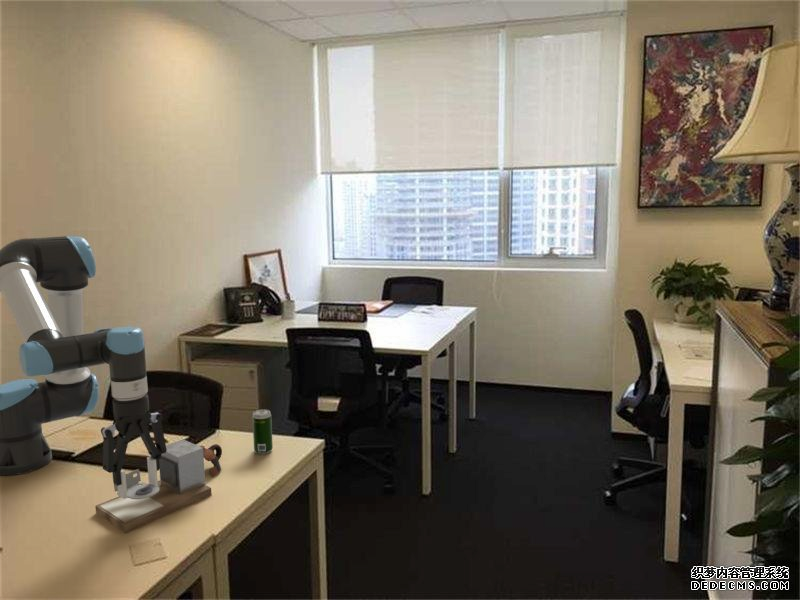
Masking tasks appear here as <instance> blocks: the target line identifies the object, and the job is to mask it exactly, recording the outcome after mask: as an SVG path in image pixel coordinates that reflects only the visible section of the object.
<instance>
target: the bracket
mask: <svg viewBox="0 0 800 600" xmlns="http://www.w3.org/2000/svg"><path fill="white" fill-rule="evenodd" d="M140 473H141V472H140V469H139V468H138V469H134V470H132V471H129V472H126V473H125V476H126V487H127V497H128V498H131V499H144V498H148V497H151V496H153V495H155V494H157V493H158V492H159V487H157V486H154V485H151V484H149V483H147V482H144V481H143V482H141V481H142V480H141V474H140ZM136 474H137V475H136ZM134 475H135V476H134ZM113 488H114V492H117V495H118V487H117V485H115V484H114V483H113Z"/></svg>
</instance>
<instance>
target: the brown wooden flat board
mask: <svg viewBox="0 0 800 600" xmlns="http://www.w3.org/2000/svg"><path fill="white" fill-rule="evenodd" d="M157 487H159V492H158V493H157V494H155V495H153V496H151V497H148V498H144V499H131V498H128V497H127V498H126V499H123V498H122V497H120V496H117V497H115V498H111V499H108V500H106V501H105V502H101V503H99V504H96V505H95V514H96V515H98V516H99V517H101V518H102V519H103V520H105V521H107V522H108V523H110V525H113V526H114V527H116V528H117V529H118V530H120V531H122V532H123V533H125V534H127V533H130V532H132V531H135V530H136V529H139V528H141V527H143V526H145V525H148V524H150V523H153V522H154V521H157V520H159V519H161V518H164V517H167V516H168V515H170V514H173V513H175V512H177V511H179V510H181V509H184V508H186V507H188V506H191V505H192V504H196V503H197V502H200V501H202V500H204V499H206V498H208V497H210V496H212V487H211V486H209V485H206V484H205V485H204V486H202V487H199V488H197V489H195V490H192V491H190V492H188V493H185V494H183V495H179V494H177V493H175V492H173V491H172V490H170V489H168V488H166V487H164V486H162V485H161V480H160V479H159V480H158V486H157Z"/></svg>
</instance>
